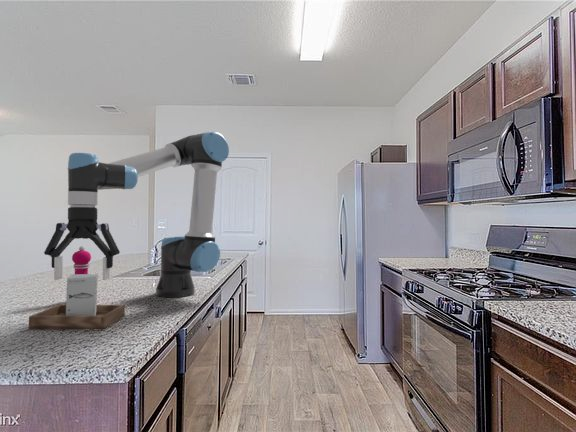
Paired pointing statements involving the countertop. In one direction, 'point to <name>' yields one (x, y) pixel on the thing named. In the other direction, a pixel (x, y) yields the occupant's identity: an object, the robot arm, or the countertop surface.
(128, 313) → the countertop surface
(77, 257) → the pepper mill
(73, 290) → the supplement box
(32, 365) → the countertop surface
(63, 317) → the walnut caddy
